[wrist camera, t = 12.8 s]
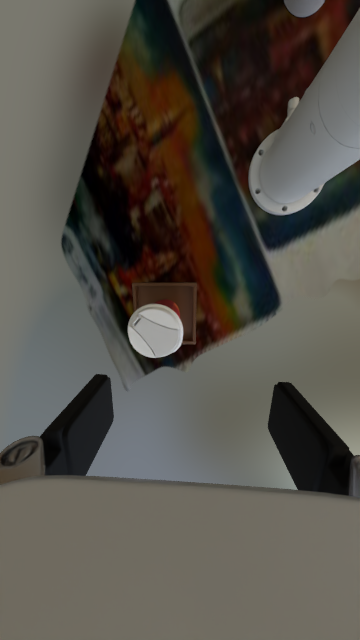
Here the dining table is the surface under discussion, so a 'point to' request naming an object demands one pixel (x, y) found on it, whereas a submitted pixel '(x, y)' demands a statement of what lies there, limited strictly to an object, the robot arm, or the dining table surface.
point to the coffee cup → (303, 7)
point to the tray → (176, 292)
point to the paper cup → (156, 329)
